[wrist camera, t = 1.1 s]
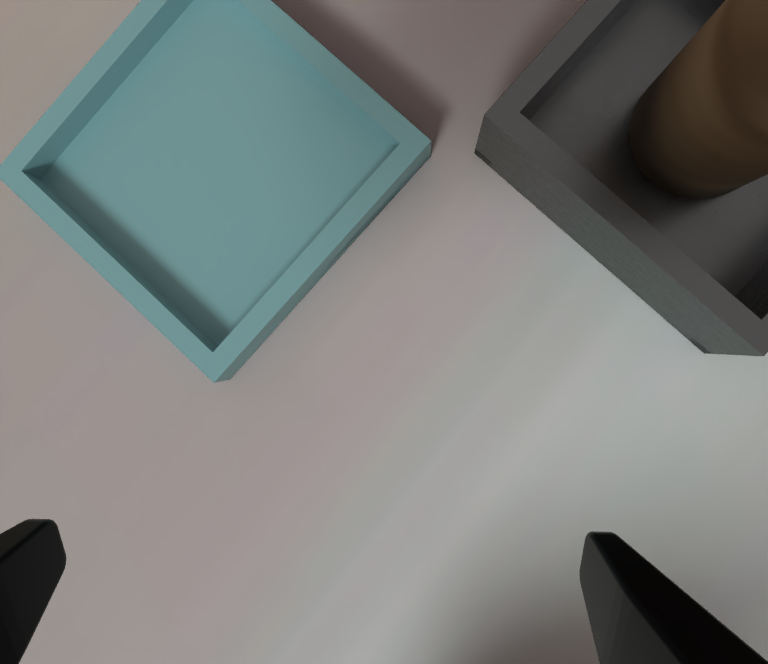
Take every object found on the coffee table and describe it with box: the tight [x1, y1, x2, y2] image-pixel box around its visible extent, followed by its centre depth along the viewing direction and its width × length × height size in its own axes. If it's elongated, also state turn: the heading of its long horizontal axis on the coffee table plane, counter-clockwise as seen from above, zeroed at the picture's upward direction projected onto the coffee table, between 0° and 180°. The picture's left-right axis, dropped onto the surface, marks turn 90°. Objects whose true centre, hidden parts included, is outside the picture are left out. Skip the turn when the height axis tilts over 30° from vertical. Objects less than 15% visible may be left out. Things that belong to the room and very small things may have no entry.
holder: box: [474, 0, 768, 356], centre depth 18 cm, size 12×12×4 cm
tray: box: [0, 0, 431, 383], centre depth 21 cm, size 12×12×2 cm
